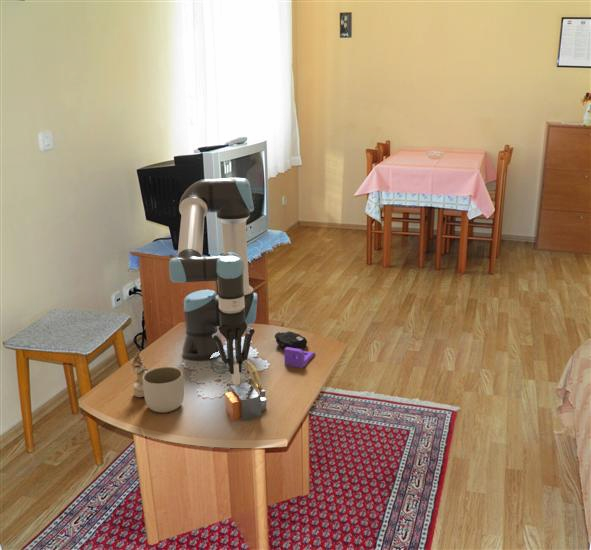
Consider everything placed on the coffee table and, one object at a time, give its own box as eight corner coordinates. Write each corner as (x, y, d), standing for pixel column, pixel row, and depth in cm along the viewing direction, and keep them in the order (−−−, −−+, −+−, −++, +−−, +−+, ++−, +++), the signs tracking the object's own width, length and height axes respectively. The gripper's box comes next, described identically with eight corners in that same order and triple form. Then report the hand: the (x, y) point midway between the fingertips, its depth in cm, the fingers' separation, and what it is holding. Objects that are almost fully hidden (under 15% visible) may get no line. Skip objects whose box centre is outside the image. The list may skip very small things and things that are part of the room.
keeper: (251, 382, 205) (245, 360, 202) (254, 381, 206) (248, 359, 203) (260, 393, 198) (254, 371, 195) (263, 392, 199) (257, 369, 196)
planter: (149, 420, 199) (146, 387, 196) (141, 402, 210) (138, 371, 207) (189, 411, 203) (187, 379, 200) (180, 394, 214) (177, 363, 211)
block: (231, 405, 206) (230, 381, 204) (253, 400, 209) (252, 376, 206) (242, 421, 197) (241, 395, 194) (266, 415, 199) (265, 390, 197)
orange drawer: (260, 402, 208) (259, 385, 206) (268, 412, 202) (267, 394, 200) (226, 410, 203) (225, 392, 202) (233, 420, 197) (232, 402, 196)
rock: (295, 339, 254) (295, 325, 252) (309, 348, 248) (309, 334, 245) (273, 346, 249) (273, 332, 247) (287, 355, 242) (287, 341, 240)
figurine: (160, 396, 213) (156, 353, 209) (137, 401, 210) (133, 358, 206) (153, 387, 219) (149, 346, 215) (131, 392, 216) (127, 350, 212)
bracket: (302, 369, 231) (302, 351, 229) (284, 366, 233) (284, 349, 231) (315, 356, 241) (315, 339, 239) (298, 354, 244) (297, 336, 242)
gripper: (214, 316, 186) (218, 392, 193) (257, 309, 191) (260, 383, 198) (206, 308, 192) (211, 381, 199) (248, 302, 197) (252, 373, 204)
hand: (235, 382), depth 198 cm, fingers closed
